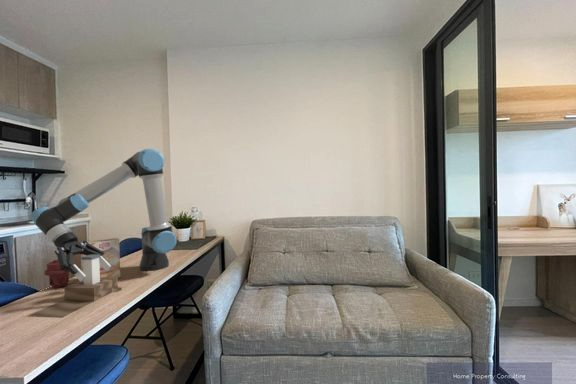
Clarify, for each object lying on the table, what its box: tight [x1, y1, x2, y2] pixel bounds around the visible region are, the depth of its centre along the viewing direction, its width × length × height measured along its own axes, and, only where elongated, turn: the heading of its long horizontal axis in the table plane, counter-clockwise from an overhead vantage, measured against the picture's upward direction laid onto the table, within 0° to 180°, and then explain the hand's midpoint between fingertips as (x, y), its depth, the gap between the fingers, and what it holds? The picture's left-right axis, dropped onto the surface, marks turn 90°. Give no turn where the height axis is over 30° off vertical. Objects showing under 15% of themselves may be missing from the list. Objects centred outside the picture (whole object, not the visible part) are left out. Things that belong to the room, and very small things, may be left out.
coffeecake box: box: [80, 237, 121, 280], centre depth 143 cm, size 15×7×20 cm, turn 150°
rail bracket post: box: [80, 255, 100, 285], centre depth 121 cm, size 5×5×16 cm
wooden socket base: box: [26, 277, 123, 319], centre depth 114 cm, size 29×14×6 cm, turn 173°
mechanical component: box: [44, 258, 71, 290], centre depth 134 cm, size 12×10×10 cm
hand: (96, 273), depth 120 cm, fingers open, 13 cm apart
